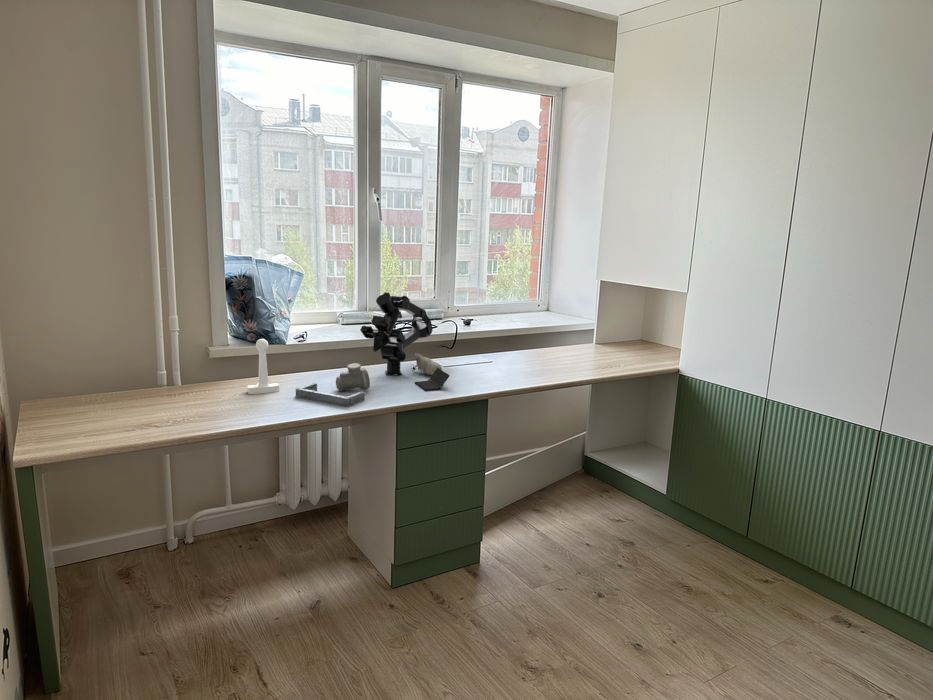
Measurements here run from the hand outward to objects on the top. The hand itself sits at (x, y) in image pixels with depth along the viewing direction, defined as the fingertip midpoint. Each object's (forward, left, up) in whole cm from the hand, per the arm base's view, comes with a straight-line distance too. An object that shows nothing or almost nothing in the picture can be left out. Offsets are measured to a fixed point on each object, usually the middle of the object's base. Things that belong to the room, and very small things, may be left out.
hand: (374, 351), depth 250 cm
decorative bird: (-9, +23, -13) cm, 28 cm away
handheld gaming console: (+10, +22, -13) cm, 27 cm away
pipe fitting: (+12, -9, -13) cm, 20 cm away
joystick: (+10, -42, -13) cm, 45 cm away
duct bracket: (+22, -18, -12) cm, 31 cm away
